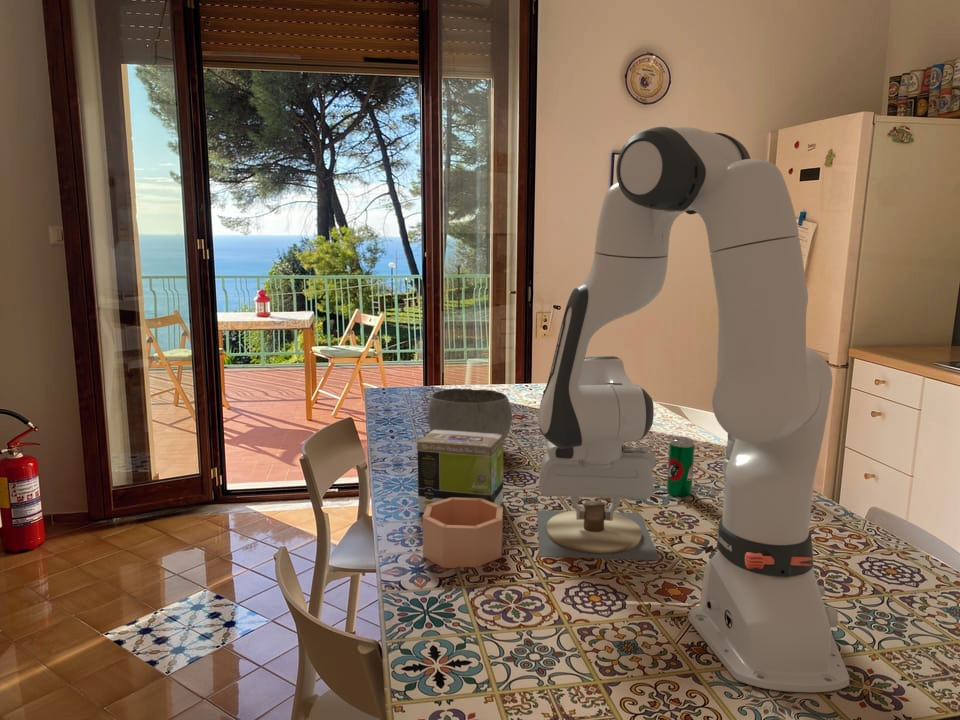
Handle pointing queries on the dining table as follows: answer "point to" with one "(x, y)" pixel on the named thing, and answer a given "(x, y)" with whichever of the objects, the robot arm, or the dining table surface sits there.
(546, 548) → the mat
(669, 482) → the soda can
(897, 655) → the dining table surface
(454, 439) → the tea box
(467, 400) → the bowl
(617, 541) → the lid
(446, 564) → the pot
